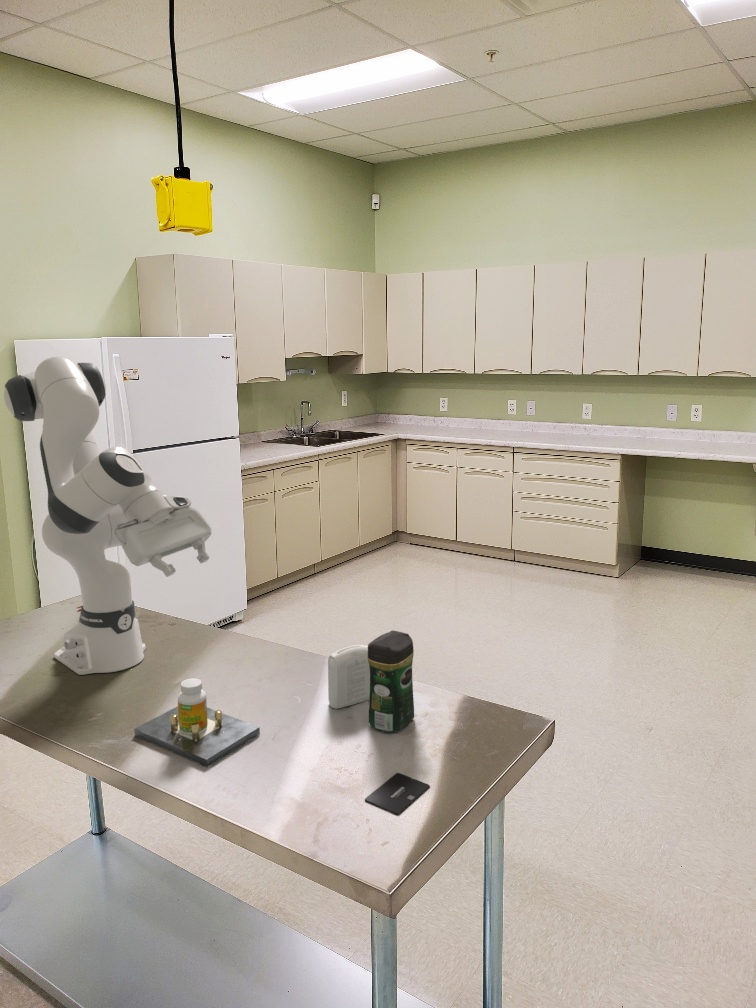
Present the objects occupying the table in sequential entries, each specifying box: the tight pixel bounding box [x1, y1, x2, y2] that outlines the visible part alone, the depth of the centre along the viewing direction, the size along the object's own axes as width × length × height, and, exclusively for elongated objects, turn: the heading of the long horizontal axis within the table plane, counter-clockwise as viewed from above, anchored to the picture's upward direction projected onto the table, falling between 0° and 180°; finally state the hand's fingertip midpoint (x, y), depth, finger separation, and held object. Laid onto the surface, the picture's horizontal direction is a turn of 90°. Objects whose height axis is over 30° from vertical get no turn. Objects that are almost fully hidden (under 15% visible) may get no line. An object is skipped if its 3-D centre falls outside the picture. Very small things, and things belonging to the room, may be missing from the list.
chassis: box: [133, 705, 261, 768], centre depth 150 cm, size 20×14×4 cm
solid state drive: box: [364, 772, 431, 816], centre depth 131 cm, size 7×10×1 cm
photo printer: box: [327, 644, 370, 709], centre depth 163 cm, size 10×4×12 cm, turn 123°
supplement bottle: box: [177, 677, 208, 735], centre depth 149 cm, size 5×5×10 cm
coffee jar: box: [367, 630, 415, 734], centre depth 153 cm, size 10×8×19 cm
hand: (189, 567), depth 157 cm, fingers open, 8 cm apart
